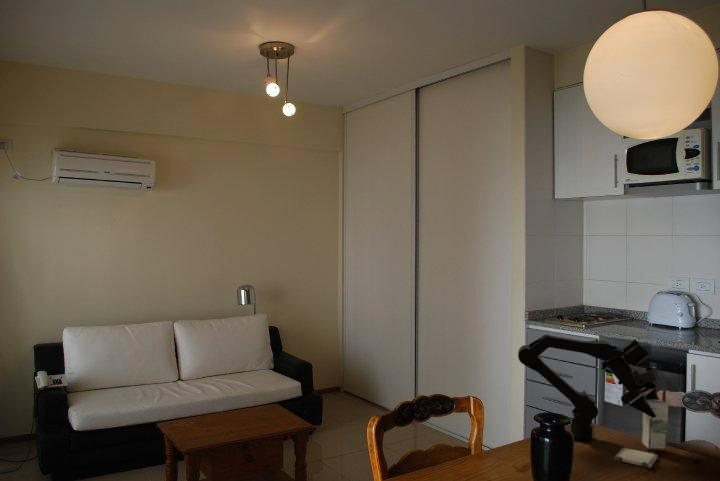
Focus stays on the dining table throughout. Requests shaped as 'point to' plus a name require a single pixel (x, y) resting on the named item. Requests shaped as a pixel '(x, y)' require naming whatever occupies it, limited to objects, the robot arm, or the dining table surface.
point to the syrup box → (655, 426)
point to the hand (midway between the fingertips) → (659, 414)
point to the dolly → (636, 457)
